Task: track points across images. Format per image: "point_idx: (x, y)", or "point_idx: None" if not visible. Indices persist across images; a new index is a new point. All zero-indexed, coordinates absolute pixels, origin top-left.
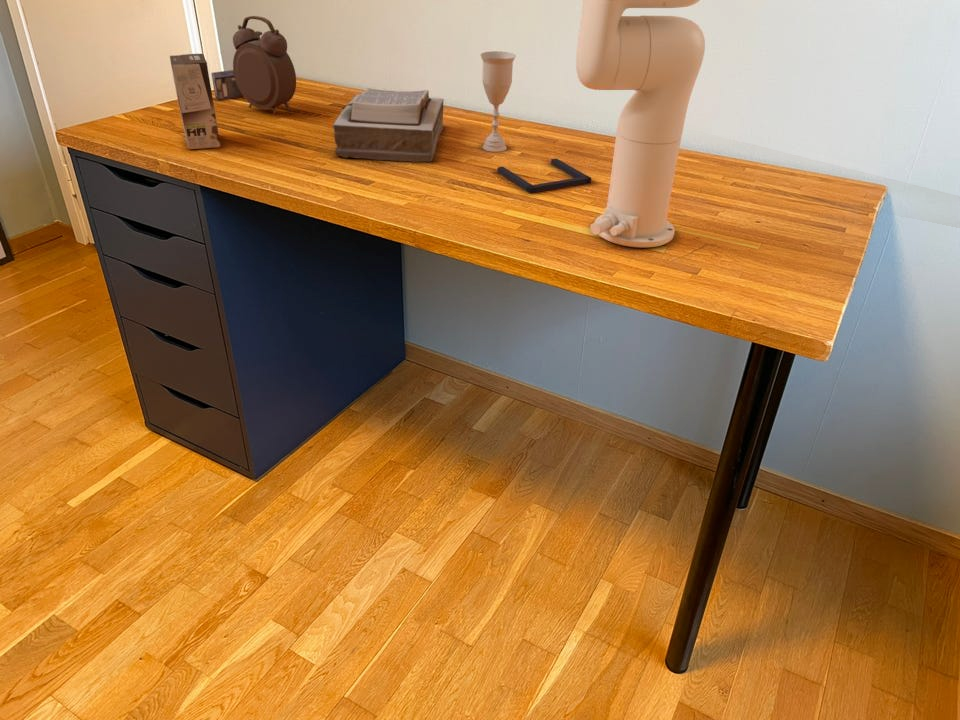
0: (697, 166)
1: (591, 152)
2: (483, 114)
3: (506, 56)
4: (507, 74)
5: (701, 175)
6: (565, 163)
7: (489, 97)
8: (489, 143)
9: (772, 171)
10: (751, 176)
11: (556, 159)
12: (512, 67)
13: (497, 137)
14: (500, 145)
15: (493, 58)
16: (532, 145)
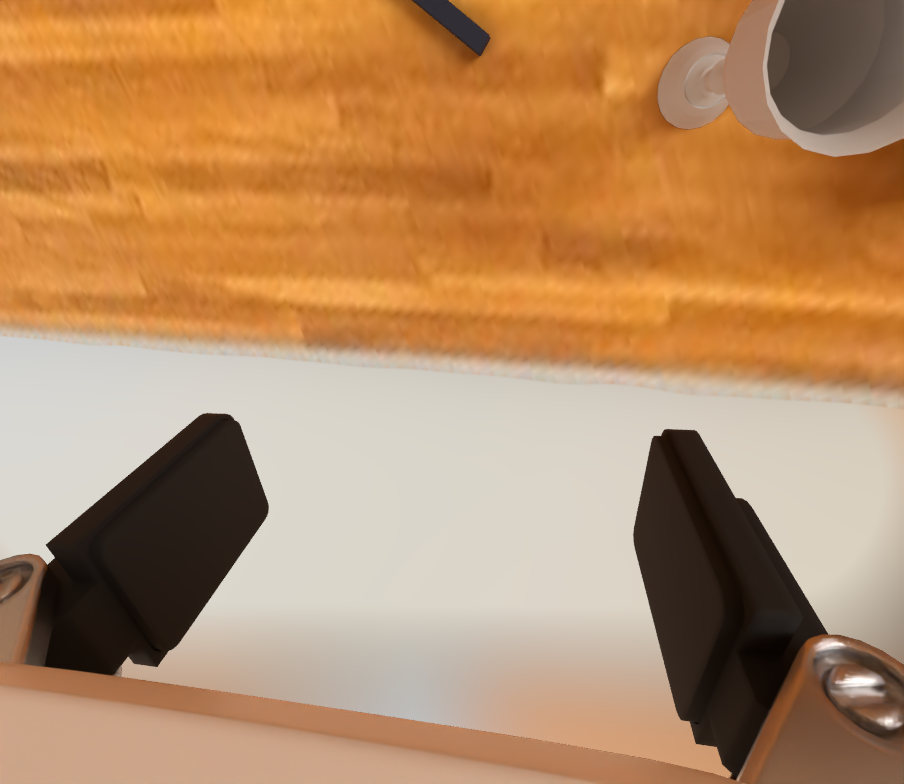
0: (212, 252)
1: (435, 215)
2: (800, 374)
3: (821, 140)
4: (760, 8)
5: (175, 194)
6: (438, 19)
7: (801, 7)
8: (717, 44)
9: (106, 301)
10: (112, 248)
11: (474, 41)
12: (753, 86)
13: (698, 70)
14: (677, 65)
15: (897, 107)
16: (593, 182)
